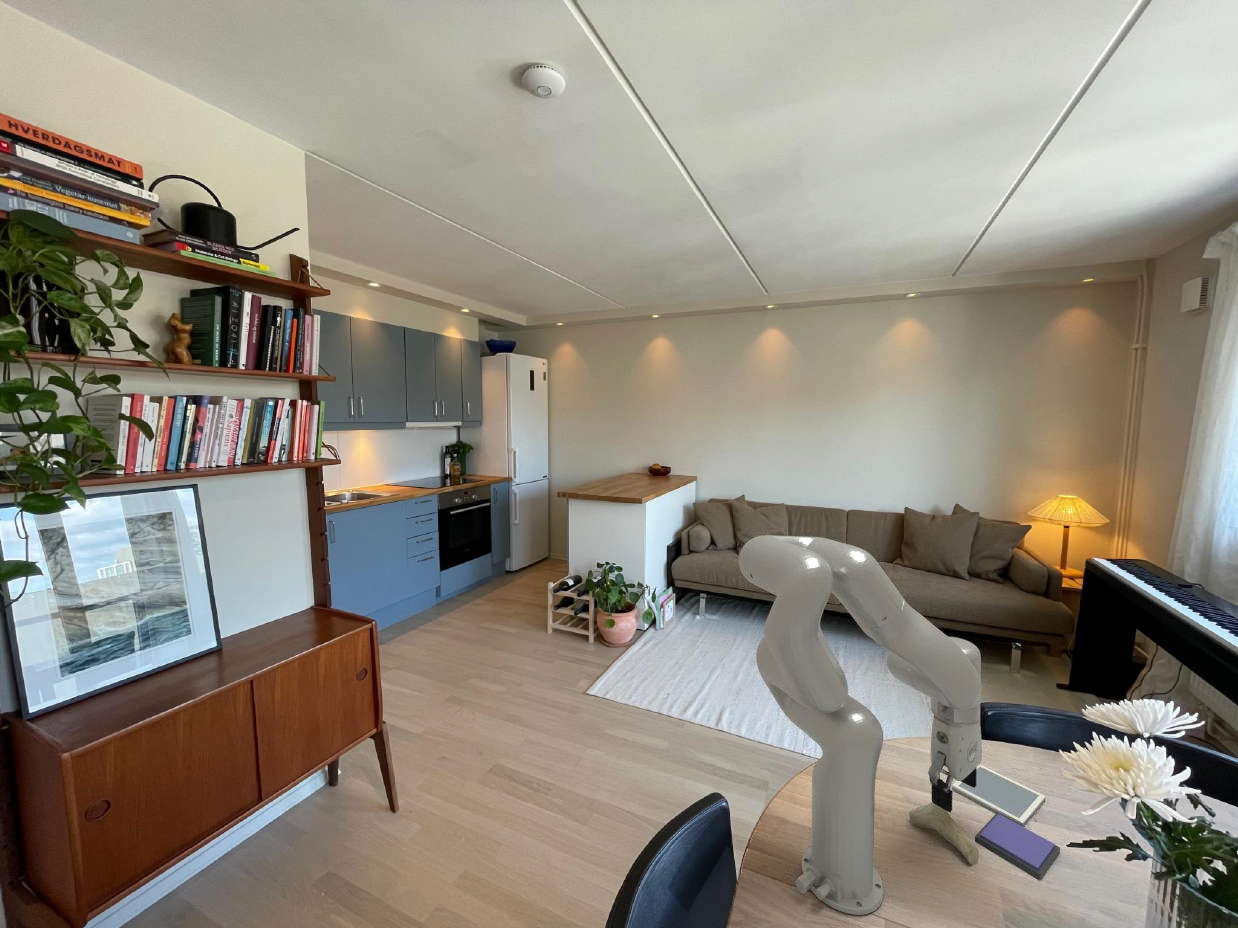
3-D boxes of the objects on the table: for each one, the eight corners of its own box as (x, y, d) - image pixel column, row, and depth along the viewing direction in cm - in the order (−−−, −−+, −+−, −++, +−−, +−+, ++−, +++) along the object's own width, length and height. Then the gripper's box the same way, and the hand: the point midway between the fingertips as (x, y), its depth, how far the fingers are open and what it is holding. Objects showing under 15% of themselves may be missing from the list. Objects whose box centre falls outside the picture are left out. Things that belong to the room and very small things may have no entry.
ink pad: (1040, 880, 82) (1040, 871, 82) (974, 840, 90) (975, 833, 90) (1059, 852, 87) (1060, 844, 87) (996, 817, 95) (996, 810, 95)
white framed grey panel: (1022, 827, 93) (1022, 822, 93) (951, 789, 103) (952, 784, 103) (1045, 800, 99) (1045, 795, 99) (976, 767, 109) (977, 762, 109)
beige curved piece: (905, 823, 95) (906, 799, 94) (924, 811, 98) (925, 788, 97) (970, 869, 85) (971, 842, 84) (989, 854, 88) (990, 828, 87)
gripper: (956, 735, 82) (955, 831, 83) (998, 699, 91) (997, 785, 93) (909, 714, 88) (909, 803, 90) (953, 682, 98) (953, 763, 99)
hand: (954, 794), depth 91 cm, fingers open, 9 cm apart
